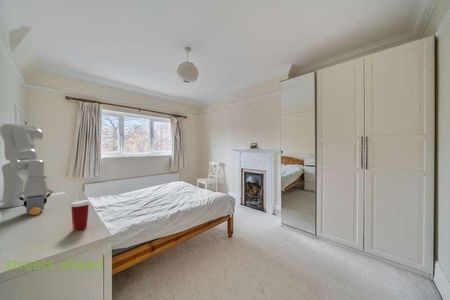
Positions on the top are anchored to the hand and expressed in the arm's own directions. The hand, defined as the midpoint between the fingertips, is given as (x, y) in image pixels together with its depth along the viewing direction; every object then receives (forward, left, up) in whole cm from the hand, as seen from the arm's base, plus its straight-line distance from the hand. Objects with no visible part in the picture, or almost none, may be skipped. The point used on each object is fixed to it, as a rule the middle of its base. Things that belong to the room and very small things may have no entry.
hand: (35, 205), depth 117 cm
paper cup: (+52, +16, -5) cm, 55 cm away
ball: (+7, 0, -2) cm, 7 cm away
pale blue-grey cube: (0, 0, -3) cm, 3 cm away
